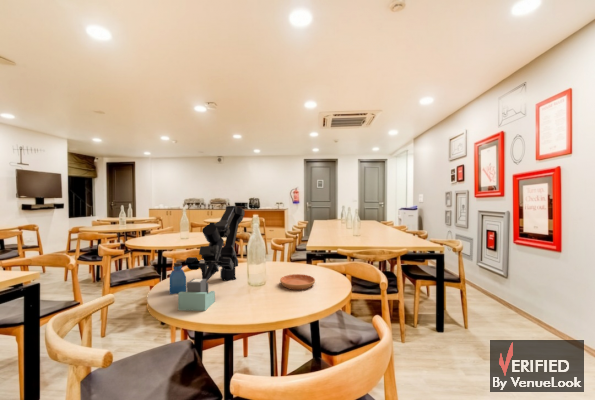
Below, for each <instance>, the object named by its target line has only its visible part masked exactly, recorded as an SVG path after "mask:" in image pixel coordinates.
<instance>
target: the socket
mask: <svg viewBox="0 0 595 400" xmlns="http://www.w3.org/2000/svg"><path fill="white" fill-rule="evenodd" d="M177 294H178V295H177V297H178V298H177V301H178V302H177V304H178V306H177V307H178V308H177V310H178V311H192V312H193V311H194V312H195V311H197V312H198V311H200V312H205V311H207V310H208V309H209V308H210V307H211V306H212V305H213V304H214V303H215V302H216V297H215V296H216V295H215V294H216V291H215V290H210V291H208V294H207V292H187V291H186V292H179V293H177Z"/></svg>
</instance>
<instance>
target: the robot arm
mask: <svg viewBox="0 0 595 400" xmlns="http://www.w3.org/2000/svg"><path fill="white" fill-rule="evenodd" d="M245 213H246V212H245V210H244V209H243V208H242V207H238V206H237V205H228V206H226V207H225V211H224V212H223V214H222V216H221V218H220V219H219V221H217V222H209V224H207V225H205V226H204V227H203V228H202V234H203V236H204V238H205V240H206V241H207V243H209V244H208V246H205V245H203V246H201V245H200V247H199V251H198V255H199V256H201V259H199V258H198V257H194V256H193V257H192V256H191V257H190V256H189V257H187V258H186V259H185V261H184V263H185V265H186V266H187V268H188V269H189V270H192V271H193V270H194V271H197V270H199V269H200V271H201V279H206V282H208V281H209V280H210V279H211V278H212V277H213V276H214V275H215V274H216V273H220V275H219V276H220V277H219V278H220V279H221V280H222V281H223V282H224V281H229V280H230V281H231V280H237V277H236V267H239V260H238V257H237V253H236V251H235V245H236V240H237V235H238V230H239V225H240V223H242V221H243V219H244V216H245ZM224 238H225V240H224ZM224 242H225V243H224ZM219 268H221V269H219ZM219 271H220V272H219Z"/></svg>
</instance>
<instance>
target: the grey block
mask: <svg viewBox="0 0 595 400" xmlns="http://www.w3.org/2000/svg"><path fill="white" fill-rule="evenodd" d="M186 292H207V294H208V293H209V282H208V281H207V282H206V279H202V278H193V279H191V280H189V281H187V282H186Z"/></svg>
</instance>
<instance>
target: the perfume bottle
mask: <svg viewBox="0 0 595 400" xmlns="http://www.w3.org/2000/svg"><path fill="white" fill-rule="evenodd" d="M182 268H183V265H182V261H181V262H180V261H178V262H174V263H173V267H172V269H173V270H171V272H170V274H169V295H175V294H176V295H177V294H178V293H179V292H187V276H186V274H185V272H184V270H183V269H182Z"/></svg>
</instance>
